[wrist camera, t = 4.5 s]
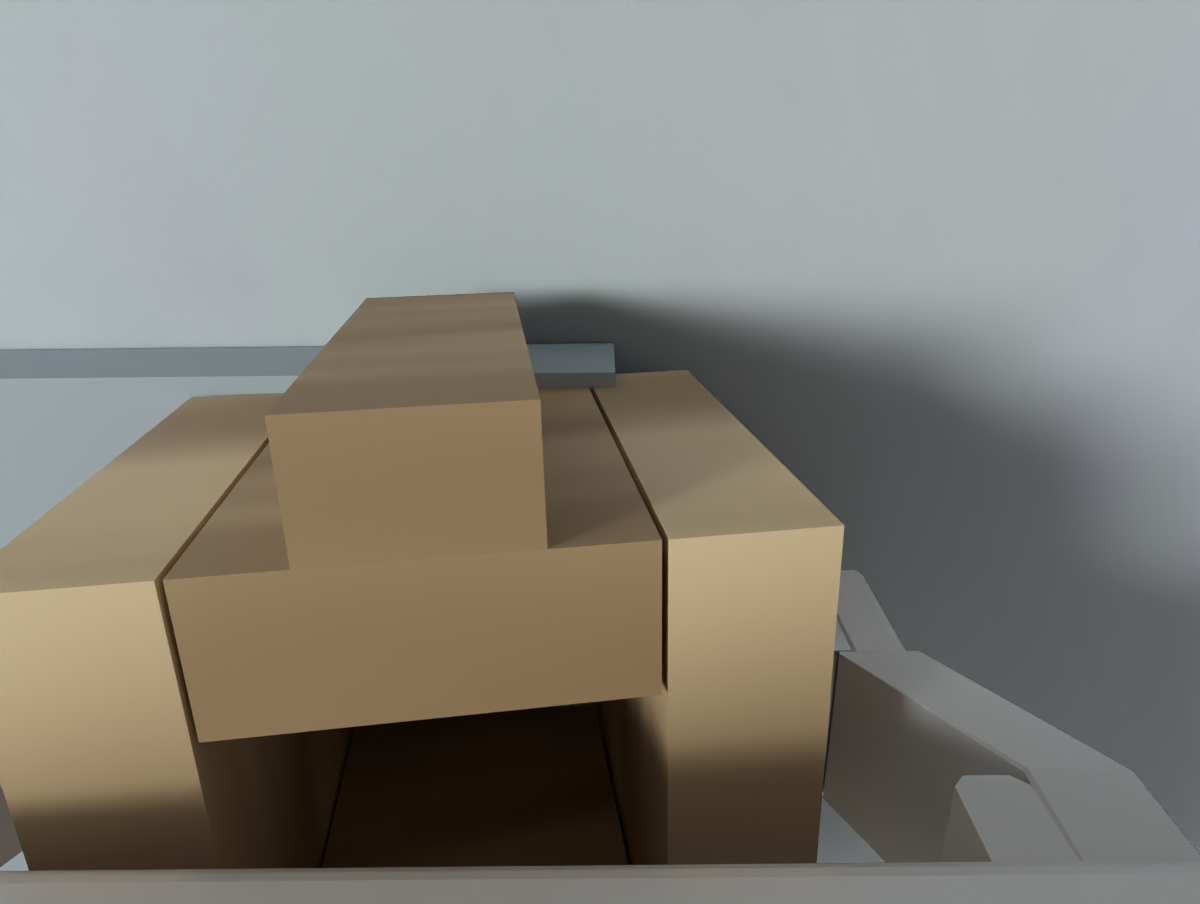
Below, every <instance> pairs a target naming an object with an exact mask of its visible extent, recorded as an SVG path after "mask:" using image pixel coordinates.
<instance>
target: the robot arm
mask: <svg viewBox="0 0 1200 904" xmlns="http://www.w3.org/2000/svg"><path fill="white" fill-rule="evenodd" d="M822 794H823V798H824V799H825V800H826V801H827V802H828V803H829V804H830V806H831V807H832V808H833V809H834V810H835V811H836V812H837V813H838V814H839V815H840V816H841V817H842V818H843V819H844V820H845V821H846V822H847V823H848V824H849V825H850V826H851V827H852V828H853V829H854V830H855V831H856V832H857V833H858V834H859V835H860V836H861V837H862V838H863V839H864V840H865V841H866V842H867V843H868V844H869V845H870V846H871V847H872V848H873V849H874V850H875V851H876V852H877V853H878V854H879V855H880V857H881V858H882V859H883V860H884V861H885V862H886V863H799V864H694V865H589V866H484V867H379V868H268V869H157V870H47V871H0V904H1200V855H1199V853H1198V852H1197V851H1196V850H1195V848H1194V847H1193V846H1192V845H1191V843H1190V842H1189V841H1188V840H1187V838H1186V837H1185V836H1184V835H1183V833H1182V832H1181V831H1180V830H1179V828H1178V827H1177V826H1176V825H1175V823H1174V822H1173V821H1172V819H1171V818H1170V817H1169V816H1168V814H1167V813H1166V812H1165V811H1164V809H1163V808H1162V807H1161V806H1160V804H1159V803H1158V802H1157V801H1156V799H1155V798H1154V797H1153V796H1152V794H1151V793H1150V792H1149V791H1148V789H1147V788H1146V787H1145V786H1144V784H1143V783H1142V782H1141V780H1140V779H1139V778H1138V777H1137V775H1136V774H1135V773H1134V772H1133V771H1132V770H1130V769H1128V768H1127V767H1125V766H1123V765H1121V764H1119V763H1118V762H1116V761H1114V760H1112V759H1111V758H1109V757H1107V756H1105V755H1103V754H1102V753H1100V752H1098V751H1096V750H1095V749H1093V748H1091V747H1089V746H1087V745H1086V744H1084V743H1082V742H1080V741H1079V740H1077V739H1075V738H1073V737H1071V736H1070V735H1068V734H1066V733H1064V732H1063V731H1061V730H1059V729H1057V728H1055V727H1054V726H1052V725H1050V724H1048V723H1047V722H1045V721H1043V720H1041V719H1039V718H1038V717H1036V716H1034V715H1032V714H1030V713H1029V712H1027V711H1025V710H1023V709H1022V708H1020V707H1018V706H1016V705H1014V704H1013V703H1011V702H1009V701H1007V700H1006V699H1004V698H1002V697H1000V696H998V695H997V694H995V693H993V692H991V691H990V690H988V689H986V688H984V687H982V686H981V685H979V684H977V683H975V682H974V681H972V680H970V679H968V678H966V677H965V676H963V675H961V674H959V673H958V672H956V671H954V670H952V669H950V668H949V667H947V666H945V665H943V664H942V663H940V662H938V661H936V660H934V659H933V658H931V657H929V656H927V655H925V654H924V653H922V652H920V651H905V649H904V647H903V645H902V644H901V642H900V640H899V638H898V637H897V635H896V633H895V631H894V630H893V628H892V626H891V624H890V622H889V621H888V619H887V617H886V615H885V614H884V612H883V610H882V608H881V607H880V605H879V603H878V601H877V599H876V598H875V596H874V594H873V592H872V591H871V589H870V587H869V585H868V584H867V582H866V580H865V578H864V577H863V575H862V573H860V572H859V571H857V570H841V573H840V585H839V597H838V609H837V621H836V633H835V645H834V657H833V669H832V681H831V693H830V705H829V717H828V729H827V741H826V753H825V765H824V777H823V788H822ZM20 852H22V848H21V845H20V842H19V839H18V836H17V833H16V830H15V827H14V823H13V820H12V817H11V814H10V811H9V808H8V805H7V802H6V799H5V796H4V793H3V790H2V787H1V784H0V867H2V866H3V865H4V864H6V863H7V862H8V861H10V860H11V859H12V858H14V857H15V856H16V855H18V854H19V853H20Z"/></svg>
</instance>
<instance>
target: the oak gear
mask: <svg viewBox="0 0 1200 904" xmlns="http://www.w3.org/2000/svg"><path fill="white" fill-rule="evenodd" d="M843 537H844V524H843V523H842V522H841V521H840V520H839V519H838V518H837V517H836V516H835V515H833V514H832V513H831V512H830V511H829V510H828V509H827V508H826V507H825V506H824V505H823V504H822V503H821V502H820V501H819V500H818V499H817V498H816V497H815V496H814V495H813V494H812V493H811V492H810V491H809V490H808V489H807V488H806V487H805V486H804V485H803V484H802V483H801V482H800V481H799V480H798V479H797V478H796V477H795V476H794V475H793V474H792V473H791V472H790V471H789V470H788V469H787V468H786V467H785V466H784V465H783V464H782V463H781V462H780V461H779V460H778V459H777V458H776V457H775V456H774V455H773V454H772V453H771V452H770V451H769V450H768V449H767V448H766V447H765V446H764V445H763V444H762V443H761V442H760V441H759V440H758V439H757V438H756V437H755V436H754V435H753V434H752V433H751V432H750V431H749V430H748V429H747V428H746V427H745V426H744V425H743V424H742V423H741V422H740V421H739V420H738V419H737V418H736V417H735V416H734V415H733V414H732V413H731V412H730V411H729V410H728V409H727V408H726V407H725V406H724V405H723V404H722V403H720V402H719V401H718V400H717V399H716V398H715V397H714V396H713V395H712V394H711V393H710V392H709V391H708V390H707V389H706V388H705V387H704V386H703V385H702V384H701V383H700V382H699V381H698V380H697V379H696V378H695V377H694V376H693V375H692V374H691V373H690V372H689V371H688V370H675V371H657V372H639V373H621V374H615V386H609V387H593V396H592V394H591V391H590V389H589V387H560V388H537V384H536V380H535V376H534V372H533V368H532V364H531V360H530V356H529V352H528V348H527V344H526V340H525V336H524V332H523V328H522V324H521V320H520V316H519V312H518V308H517V304H516V300H515V296H514V292H503V293H479V294H456V295H432V296H409V297H385V298H366V300H365V301H364V302H363V303H362V304H361V305H360V306H359V308H358V309H357V310H356V311H355V312H354V313H353V314H352V316H351V317H350V318H349V319H348V320H347V321H346V322H345V324H344V325H343V326H342V327H341V328H340V329H339V331H338V332H337V333H336V334H335V335H334V336H333V337H332V339H331V340H330V341H329V342H328V343H327V344H326V345H325V347H324V348H323V349H322V350H321V351H320V352H319V354H318V355H317V356H316V357H315V358H314V359H313V360H312V362H311V363H310V364H309V365H308V366H307V367H306V368H305V370H304V371H303V372H302V373H301V374H300V375H299V376H298V378H297V379H296V380H295V381H294V382H293V383H292V385H291V386H290V387H289V388H288V389H287V390H286V391H285V393H264V394H241V395H222V396H204V397H191V398H190V399H189V400H187V401H186V402H185V403H184V404H182V405H181V406H180V407H179V408H177V409H176V410H175V411H174V412H172V413H171V414H170V415H169V416H167V417H166V418H165V419H164V420H162V421H161V422H160V423H159V424H157V425H156V426H155V427H154V428H152V429H151V430H150V431H149V432H147V433H146V434H145V435H144V436H142V437H141V438H140V439H139V440H137V441H136V442H135V443H133V444H132V445H131V446H130V447H128V448H127V449H126V450H125V451H123V452H122V453H121V454H120V455H118V456H117V457H116V458H115V459H113V460H112V461H111V462H110V463H108V464H107V465H106V466H105V467H103V468H102V469H101V470H100V471H98V472H97V473H96V474H95V475H93V476H92V477H91V478H90V479H88V480H87V481H86V482H85V483H83V484H82V485H81V486H80V487H78V488H77V489H76V490H75V491H73V492H72V493H71V494H69V495H68V496H67V497H66V498H64V499H63V500H62V501H61V502H59V503H58V504H57V505H56V506H54V507H53V508H52V509H51V510H49V511H48V512H47V513H46V514H44V515H43V516H42V517H41V518H39V519H38V520H37V521H36V522H34V523H33V524H32V525H31V526H29V527H28V528H27V529H26V530H24V531H23V532H22V533H21V534H19V535H18V536H17V537H16V538H14V539H13V540H12V541H10V542H9V543H8V544H7V545H5V546H4V547H3V548H2V549H0V784H1V787H2V790H3V793H4V796H5V799H6V802H7V805H8V808H9V811H10V814H11V817H12V820H13V823H14V827H15V830H16V833H17V836H18V839H19V842H20V845H21V848H22V851H23V854H24V857H25V860H26V863H27V866H28V869H29V871H47V870H157V869H268V868H379V867H484V866H589V865H694V864H799V863H816V860H817V848H818V836H819V824H820V812H821V800H822V788H823V777H824V765H825V753H826V741H827V729H828V717H829V705H830V693H831V681H832V669H833V657H834V645H835V633H836V621H837V609H838V597H839V585H840V573H841V561H842V549H843ZM598 701H599V723H598V718H597V713H596V708H595V706H559V705H569V704H579V703H588V702H598Z"/></svg>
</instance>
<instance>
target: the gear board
mask: <svg viewBox="0 0 1200 904" xmlns="http://www.w3.org/2000/svg"><path fill="white" fill-rule="evenodd" d="M324 347H325V346H317V347H224V348H131V349H38V350H0V549H2V548H3V547H4V546H5V545H7V544H8V543H9V542H10V541H12V540H13V539H14V538H16V537H17V536H18V535H19V534H21V533H22V532H23V531H24V530H26V529H27V528H28V527H29V526H31V525H32V524H33V523H34V522H36V521H37V520H38V519H39V518H41V517H42V516H43V515H44V514H46V513H47V512H48V511H49V510H51V509H52V508H53V507H54V506H56V505H57V504H58V503H59V502H61V501H62V500H63V499H64V498H66V497H67V496H68V495H69V494H71V493H72V492H73V491H75V490H76V489H77V488H78V487H80V486H81V485H82V484H83V483H85V482H86V481H87V480H88V479H90V478H91V477H92V476H93V475H95V474H96V473H97V472H98V471H100V470H101V469H102V468H103V467H105V466H106V465H107V464H108V463H110V462H111V461H112V460H113V459H115V458H116V457H117V456H118V455H120V454H121V453H122V452H123V451H125V450H126V449H127V448H128V447H130V446H131V445H132V444H133V443H135V442H136V441H137V440H139V439H140V438H141V437H142V436H144V435H145V434H146V433H147V432H149V431H150V430H151V429H152V428H154V427H155V426H156V425H157V424H159V423H160V422H161V421H162V420H164V419H165V418H166V417H167V416H169V415H170V414H171V413H172V412H174V411H175V410H176V409H177V408H179V407H180V406H181V405H182V404H184V403H185V402H186V401H187V400H189V399H190V398H191V397H204V396H222V395H241V394H264V393H285V391H286V390H287V389H288V388H289V387H290V386H291V385H292V383H293V382H294V381H295V380H296V379H297V378H298V376H299V375H300V374H301V373H302V372H303V371H304V370H305V368H306V367H307V366H308V365H309V364H310V363H311V362H312V360H313V359H314V358H315V357H316V356H317V355H318V354H319V352H320V351H321V350H322V349H323V348H324ZM527 348H528V352H529V356H530V360H531V364H532V368H533V372H534V376H535V380H536V384H537V388H560V387H589V389H590V391H591V394H592V396H593V387H609V386H615V353H614V343H595V344H527ZM559 706H595V708H596V713H597V718H598V723H599V701H598V702H588V703H579V704H569V705H559ZM0 871H29V869H28V866H27V863H26V860H25V857H24V854H23V851H22V852H20V853H19V854H18V855H16V856H15V857H14V858H12V859H11V860H10V861H8V862H7V863H6V864H4V865H3V866H2V867H0Z"/></svg>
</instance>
